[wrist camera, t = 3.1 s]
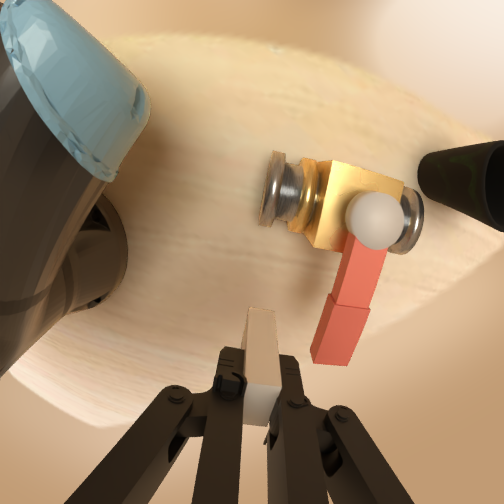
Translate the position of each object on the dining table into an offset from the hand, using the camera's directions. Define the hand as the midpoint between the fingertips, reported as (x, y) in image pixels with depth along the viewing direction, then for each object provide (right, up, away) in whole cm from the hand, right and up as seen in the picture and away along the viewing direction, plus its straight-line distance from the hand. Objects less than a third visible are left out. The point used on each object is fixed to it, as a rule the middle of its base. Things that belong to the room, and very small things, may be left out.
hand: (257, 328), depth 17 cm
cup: (+21, +13, +10) cm, 27 cm away
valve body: (+8, +10, +11) cm, 17 cm away
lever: (+7, +3, +3) cm, 8 cm away
